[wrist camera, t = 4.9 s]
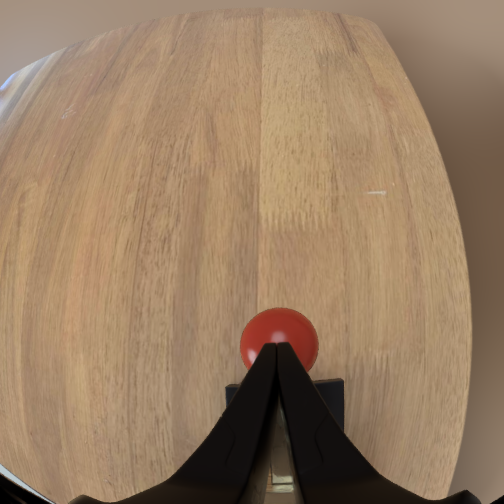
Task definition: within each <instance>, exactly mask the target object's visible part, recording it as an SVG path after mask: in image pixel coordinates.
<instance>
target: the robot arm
mask: <svg viewBox="0 0 504 504" xmlns="http://www.w3.org/2000/svg"><path fill="white" fill-rule="evenodd" d="M279 399H280V407H281V413H282V420H283V426H284V432H285V439H286V445H287V451H288V458H289V464H290V470H291V477H292V483H293V490H294V496H295V502H296V504H481V502H480V500H479V499H478V498H477V497H476V496H474V495H473V494H472V493H470V492H469V491H468V490H463V491H461V492H458V493H456V494H454V495H451V496H449V497H447V498H444V499H441V500H428V499H425V498H422V497H420V496H418V495H416V494H414V493H412V492H410V491H408V490H406V489H404V488H402V487H401V486H399V485H397V484H395V483H393V482H391V481H390V480H388V479H386V478H385V477H383V476H382V475H381V474H379V473H378V472H377V471H376V470H375V469H374V468H373V467H372V466H371V464H370V463H369V462H368V461H367V460H366V459H365V457H364V456H363V455H362V454H361V453H360V452H359V451H358V449H357V448H356V447H355V446H354V445H353V443H352V442H351V441H350V440H349V438H348V437H347V436H346V435H345V433H344V432H343V430H342V429H341V427H340V426H339V424H338V423H337V421H336V420H335V418H334V416H333V415H332V413H331V412H330V410H329V408H328V407H327V405H326V403H325V402H324V400H323V398H322V397H321V395H320V393H319V392H318V390H317V388H316V387H315V385H314V383H313V381H312V380H311V378H310V376H309V375H308V373H307V371H306V370H305V368H304V366H303V365H302V363H301V361H300V359H299V358H298V356H297V354H296V353H295V351H294V349H293V347H292V346H291V344H290V343H289V342H278V343H277V344H276V343H275V342H274V343H265V344H264V345H263V347H262V348H261V350H260V352H259V354H258V355H257V357H256V359H255V361H254V362H253V364H252V366H251V367H250V369H249V371H248V373H247V374H246V376H245V378H244V379H243V381H242V383H241V384H240V386H239V388H238V389H237V391H236V393H235V394H234V396H233V398H232V399H231V401H230V403H229V404H228V406H227V407H226V409H225V411H224V412H223V414H222V417H220V418H219V420H218V422H217V423H216V425H215V426H214V428H213V429H212V431H211V432H210V433H209V435H208V436H207V438H206V439H205V440H204V441H203V442H202V444H201V445H200V446H199V447H198V448H197V450H196V451H195V452H194V453H193V454H192V455H191V456H190V457H189V458H188V460H187V461H186V462H185V463H184V464H183V465H182V466H181V467H180V468H179V469H178V470H177V471H176V472H175V473H174V474H173V475H172V476H171V477H170V478H169V479H167V480H166V481H164V482H162V483H160V484H158V485H156V486H154V487H152V488H150V489H147V490H145V491H143V492H141V493H138V494H136V495H134V496H131V497H129V498H126V499H124V500H121V501H118V502H111V503H109V502H102V501H99V500H97V499H94V498H92V497H89V496H86V495H80V496H78V497H77V498H75V499H73V500H72V501H70V502H69V503H68V504H264V500H265V494H266V488H267V482H268V476H269V470H270V463H271V456H272V450H273V443H274V436H275V428H276V421H277V413H278V405H279ZM0 504H52V503H50V502H48V501H46V500H44V499H42V498H41V497H39V496H37V495H35V494H34V493H32V492H30V491H28V490H27V489H25V488H23V487H22V486H20V485H18V484H17V483H15V482H14V481H12V480H10V479H9V478H7V477H6V476H4V475H3V474H1V473H0ZM490 504H504V495H503V496H502V497H500V498H498V499H497V500H495V501H493V502H492V503H490Z"/></svg>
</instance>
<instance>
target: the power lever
mask: <svg viewBox="0 0 504 504" xmlns="http://www.w3.org/2000/svg"><path fill="white" fill-rule="evenodd" d="M274 342H275V343H276V344H277V343H278V342H289V343H290V344H291V346H292V347H293V349H294V351H295V353H296V354H297V356H298V358H299V359H300V361H301V363H302V365H303V366H304V368H305V370H306V371H307V372H308V371H309V370H310V369H311V368H312V366H313V364H314V363H315V361H316V358H317V355H318V350H319V342H318V336H317V333H316V330H315V328H314V327H313V325H312V323H311V322H310V321H309V320H308V319H307V318H306V317H305V316H304V315H302V314H301V313H299V312H297V311H295V310H292V309H288V308H272V309H268V310H265V311H263V312H261V313H259V314H257V315H256V316H255V317H254V318H253V319H251V320H250V322H249V323H248V324H247V325H246V327H245V329H244V331H243V333H242V336H241V341H240V352H241V357H242V360H243V362H244V364H245V366H246V368H247V369H248V370H249V369H250V367H251V366H252V364H253V362H254V361H255V359H256V357H257V355H258V354H259V352H260V350H261V348H262V347H263V345H264V344H265V343H274ZM270 464H271V468H270V470H269V476H268V482H267V488H266V494H265V500H264V504H296V502H295V496H294V490H293V483H292V477H291V470H290V464H289V458H288V451H287V445H286V439H285V432H284V426H283V420H282V413H281V407H280V399H279V405H278V413H277V421H276V428H275V436H274V443H273V450H272V456H271V463H270Z"/></svg>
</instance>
